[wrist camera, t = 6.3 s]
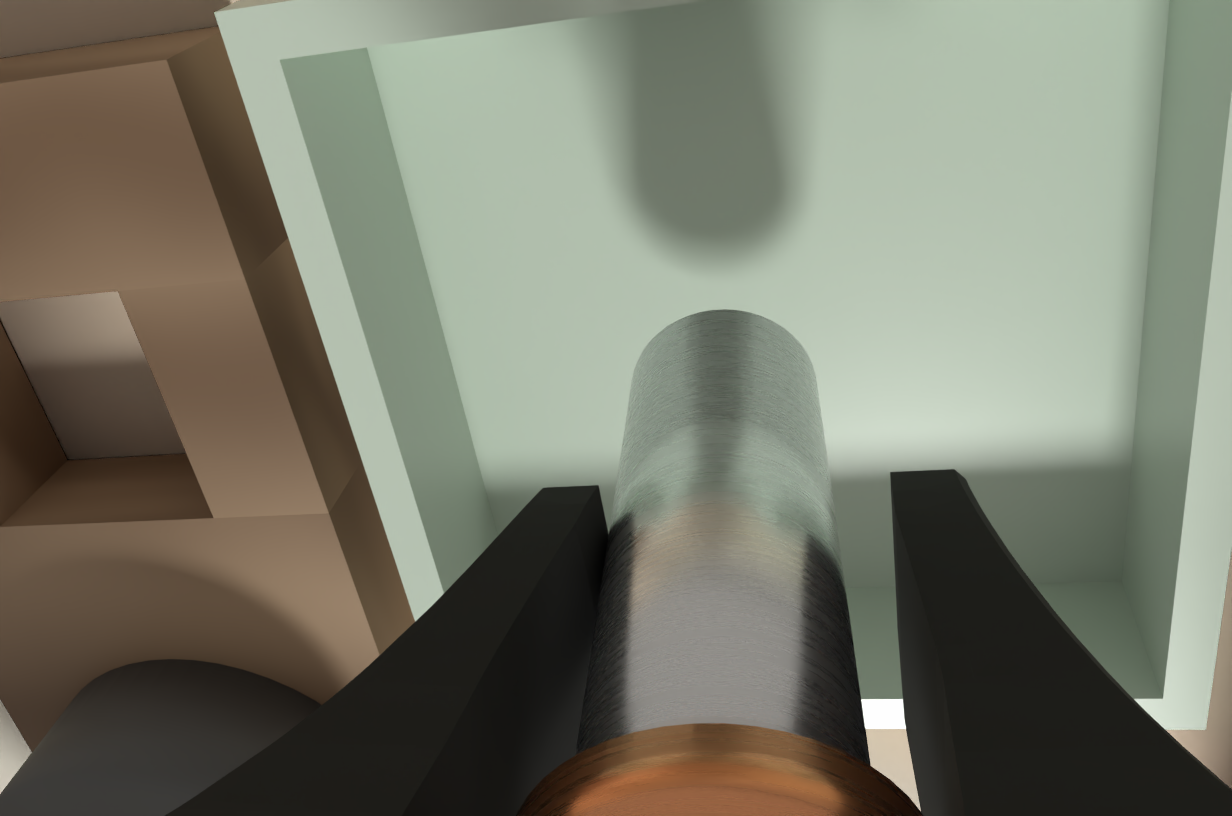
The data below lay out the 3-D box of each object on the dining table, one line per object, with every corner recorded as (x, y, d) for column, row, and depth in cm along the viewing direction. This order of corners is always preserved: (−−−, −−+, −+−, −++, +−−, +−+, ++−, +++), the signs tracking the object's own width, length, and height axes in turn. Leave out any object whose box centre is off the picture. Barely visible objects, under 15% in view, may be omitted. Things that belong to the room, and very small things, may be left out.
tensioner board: (507, 863, 24) (434, 1129, 20) (183, 852, 26) (45, 1095, 22) (237, 23, 16) (-12, 149, 11) (-227, 92, 17) (-612, 227, 13)
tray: (1152, 589, 18) (1205, 729, 16) (495, 603, 20) (449, 727, 18) (1229, -181, 13) (1332, -157, 10) (316, -36, 15) (214, 11, 12)
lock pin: (855, 484, 15) (964, 1108, 8) (621, 503, 15) (537, 1106, 9) (841, 265, 13) (961, 813, 7) (581, 294, 14) (438, 829, 7)
